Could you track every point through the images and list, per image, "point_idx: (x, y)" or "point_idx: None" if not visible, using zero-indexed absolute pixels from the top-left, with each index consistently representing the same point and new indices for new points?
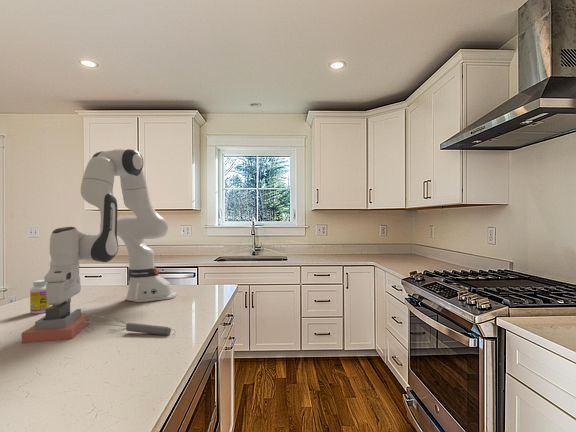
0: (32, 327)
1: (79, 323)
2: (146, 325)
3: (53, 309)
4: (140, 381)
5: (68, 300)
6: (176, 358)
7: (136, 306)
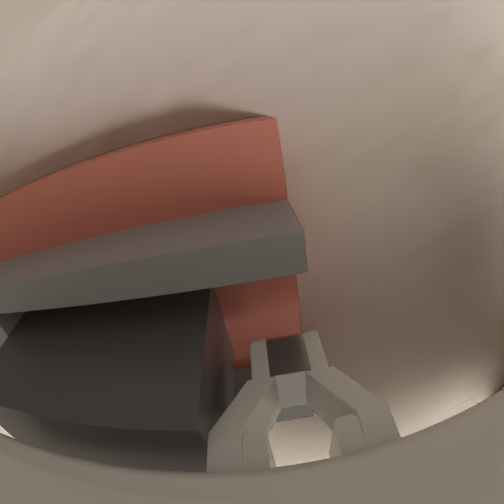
0: (14, 207)
1: None
2: None
3: (10, 428)
4: None
5: (330, 449)
6: None
7: (480, 379)
